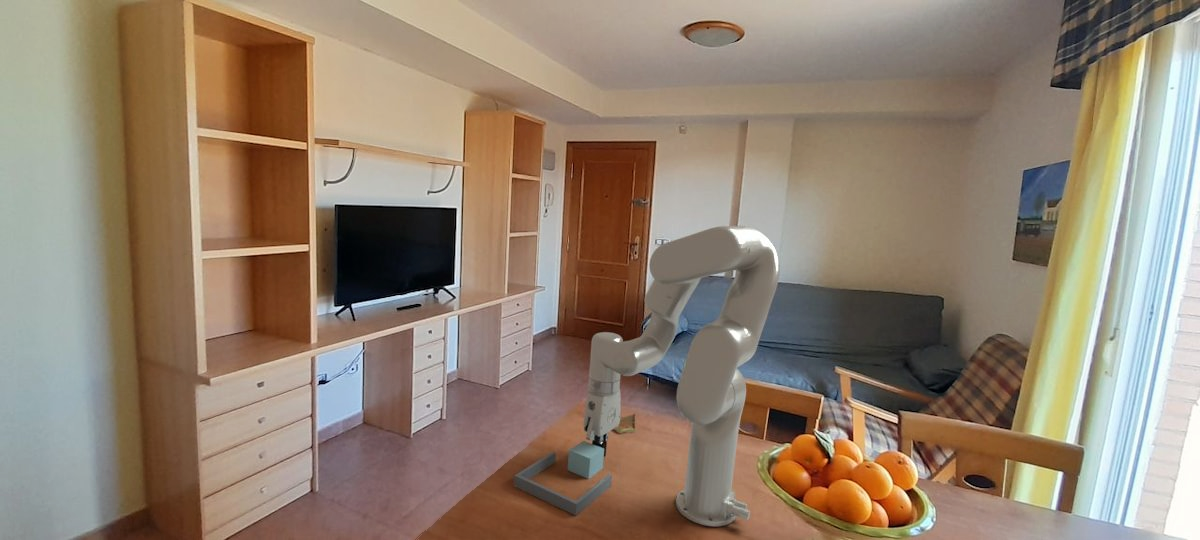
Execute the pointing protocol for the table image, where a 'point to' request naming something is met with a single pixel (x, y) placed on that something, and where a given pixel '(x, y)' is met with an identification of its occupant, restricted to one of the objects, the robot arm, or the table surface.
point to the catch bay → (551, 496)
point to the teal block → (585, 459)
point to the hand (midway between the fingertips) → (598, 455)
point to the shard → (626, 424)
